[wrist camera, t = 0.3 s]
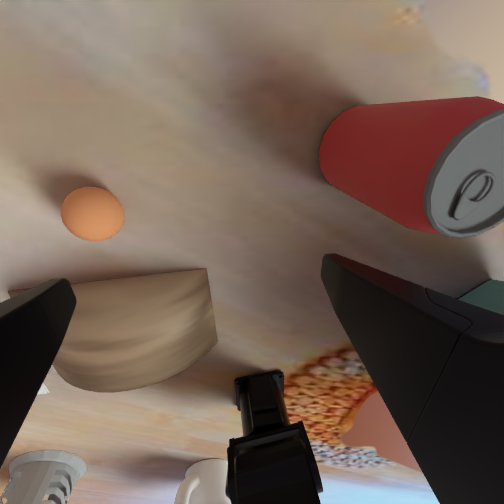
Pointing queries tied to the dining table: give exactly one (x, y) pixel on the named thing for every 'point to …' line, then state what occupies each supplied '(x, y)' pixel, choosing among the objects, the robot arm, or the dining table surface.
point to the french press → (43, 477)
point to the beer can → (422, 162)
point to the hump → (136, 330)
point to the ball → (92, 213)
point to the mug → (204, 483)
